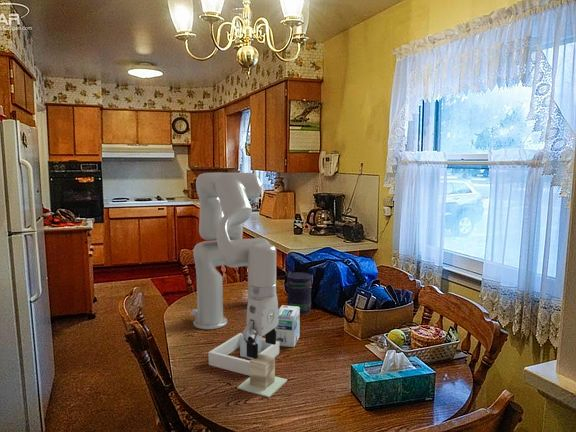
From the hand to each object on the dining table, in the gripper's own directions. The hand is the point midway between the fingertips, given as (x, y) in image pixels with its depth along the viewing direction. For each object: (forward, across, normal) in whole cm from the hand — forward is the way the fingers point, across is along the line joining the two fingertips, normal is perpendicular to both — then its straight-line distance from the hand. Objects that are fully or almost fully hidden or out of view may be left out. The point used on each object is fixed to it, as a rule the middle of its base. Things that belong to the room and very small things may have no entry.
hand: (261, 350), depth 121 cm
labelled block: (+9, 0, -1) cm, 9 cm away
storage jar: (+11, +58, +17) cm, 62 cm away
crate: (+10, +10, +12) cm, 19 cm away
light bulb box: (+11, +30, +7) cm, 32 cm away
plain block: (+10, +14, +12) cm, 21 cm away
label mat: (+10, 0, -1) cm, 10 cm away
